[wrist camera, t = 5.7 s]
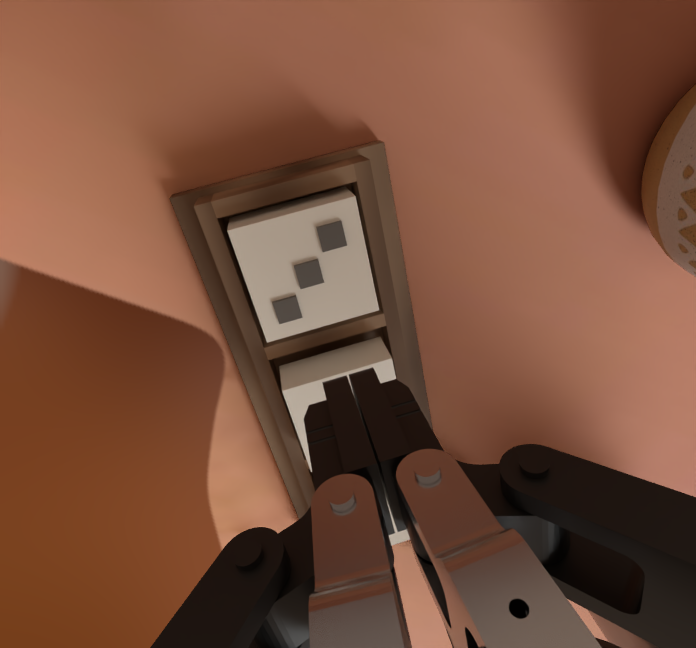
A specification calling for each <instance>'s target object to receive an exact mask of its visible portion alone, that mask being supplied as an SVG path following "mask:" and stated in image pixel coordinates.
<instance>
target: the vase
mask: <svg viewBox="0 0 696 648" xmlns="http://www.w3.org/2000/svg"><path fill="white" fill-rule="evenodd" d="M641 197H642V205H643V211H644V215H645V218H646V221H647V223H648V226H649V229H650V231H651V233H652V235H653V237H654V238H655V240H656V241H657V242H658V244H659V245H660V246H661V248H662V249H663V250H664V252H665V253H666V254H667V256H669V257H670V258H671V259H672V260H673V261H674V262H675V263H677V264H678V265H679V266H681V267H682V268H683V269H685V270H686V271H687V272H689V273H691V274H692V275H694V276H695V277H696V84H695V85H694V86H693V87H692V88H691V89H690V90H689V91H688V92H687V93H686V94H685V95H684V96H683V97H682V98H681V99H680V100H679V102H678V103H677V104H676V106H675V107H674V108H673V110H672V111H671V112H670V114H669V115H668V116H667V118H666V119H665V120H664V122H663V124H662V125H661V127H660V129H659V131H658V133H657V134H656V136H655V138H654V140H653V143H652V145H651V148H650V150H649V153H648V155H647V158H646V162H645V166H644V171H643V175H642V190H641Z"/></svg>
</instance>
